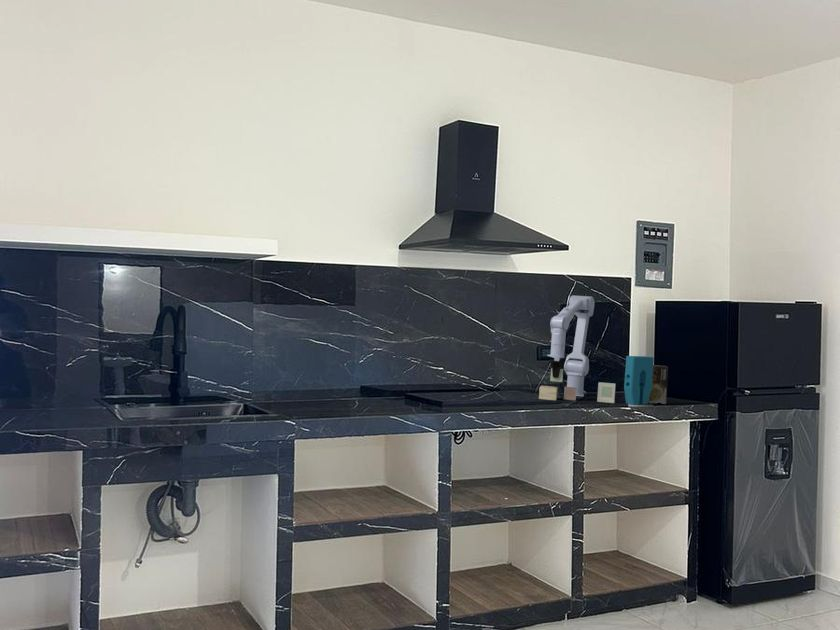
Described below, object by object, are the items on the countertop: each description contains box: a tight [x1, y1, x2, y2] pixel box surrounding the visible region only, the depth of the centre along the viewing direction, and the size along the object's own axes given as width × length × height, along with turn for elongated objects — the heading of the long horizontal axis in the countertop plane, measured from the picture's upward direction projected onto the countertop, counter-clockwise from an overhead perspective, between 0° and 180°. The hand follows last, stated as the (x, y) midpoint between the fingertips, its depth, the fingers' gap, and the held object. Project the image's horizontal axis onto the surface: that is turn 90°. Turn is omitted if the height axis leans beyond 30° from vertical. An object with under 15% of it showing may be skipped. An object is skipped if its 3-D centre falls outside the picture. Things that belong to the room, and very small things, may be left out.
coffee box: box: [648, 364, 669, 405], centre depth 379 cm, size 9×6×16 cm
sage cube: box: [549, 367, 564, 383], centre depth 367 cm, size 5×5×5 cm
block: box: [623, 355, 655, 406], centre depth 370 cm, size 12×5×20 cm, turn 120°
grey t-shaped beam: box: [596, 381, 616, 404], centre depth 370 cm, size 4×7×8 cm, turn 80°
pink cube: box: [563, 386, 577, 401], centre depth 371 cm, size 5×5×5 cm
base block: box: [538, 385, 558, 401], centre depth 368 cm, size 7×7×5 cm
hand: (555, 377), depth 367 cm, fingers closed on sage cube, 5 cm apart
